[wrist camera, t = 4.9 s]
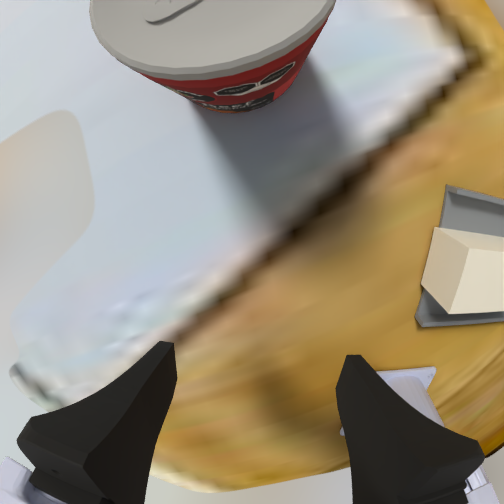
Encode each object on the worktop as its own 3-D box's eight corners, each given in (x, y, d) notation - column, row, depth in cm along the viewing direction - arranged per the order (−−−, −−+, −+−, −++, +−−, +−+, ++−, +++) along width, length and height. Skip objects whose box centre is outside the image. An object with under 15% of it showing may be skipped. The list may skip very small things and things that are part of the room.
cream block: (420, 283, 20) (494, 285, 20) (448, 314, 16) (523, 309, 16) (434, 226, 18) (508, 238, 18) (469, 248, 14) (540, 256, 14)
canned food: (155, 87, 16) (48, 44, 6) (216, -8, 14) (177, -112, 3) (261, 137, 17) (259, 126, 7) (321, 37, 15) (380, -56, 4)
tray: (505, 312, 21) (513, 319, 20) (414, 316, 21) (421, 326, 20) (535, 208, 17) (545, 213, 16) (446, 184, 18) (457, 188, 16)
